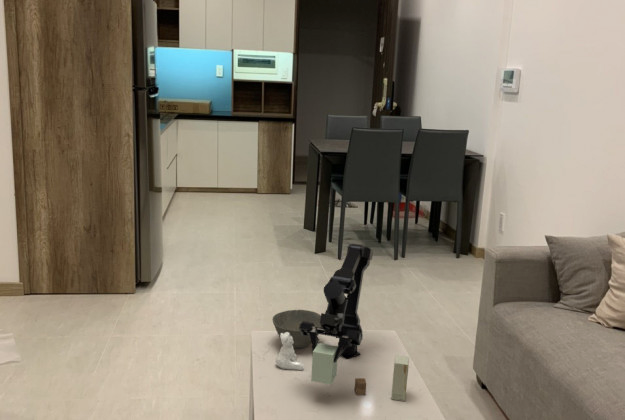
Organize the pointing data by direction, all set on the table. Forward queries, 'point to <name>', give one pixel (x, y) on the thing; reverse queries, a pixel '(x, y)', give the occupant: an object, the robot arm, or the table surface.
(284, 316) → the bowl
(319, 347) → the mint green pillar
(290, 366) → the white creature statuette
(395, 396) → the skincare box
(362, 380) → the brown box
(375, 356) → the table surface
